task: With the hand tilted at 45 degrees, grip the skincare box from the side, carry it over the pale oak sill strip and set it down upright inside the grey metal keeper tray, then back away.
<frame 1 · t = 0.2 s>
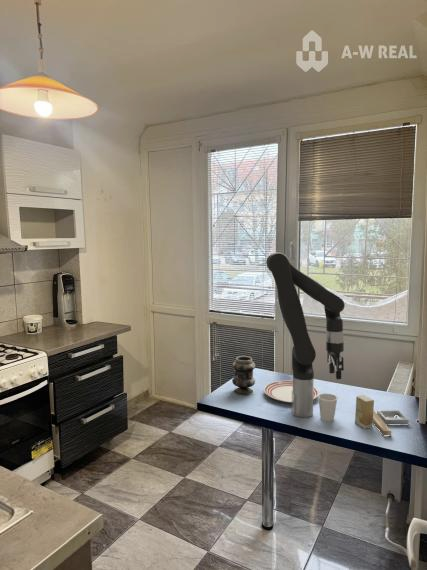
hand: (335, 376, 177), 18 cm above the table, tool pointing down, fingers open, 8 cm apart
dixie cup: (327, 418, 174), on the table
sill: (378, 425, 167), on the table
keeper: (392, 420, 172), on the table
skincare box: (363, 425, 168), on the table
dinner plate: (290, 396, 201), on the table
dark carved vase: (243, 391, 206), on the table
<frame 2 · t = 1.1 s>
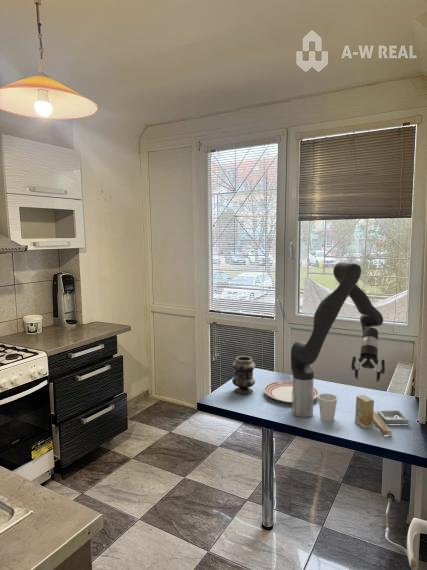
hand: (367, 379, 176), 16 cm above the table, tool tilted 45°, fingers open, 8 cm apart
nothing on the table moved.
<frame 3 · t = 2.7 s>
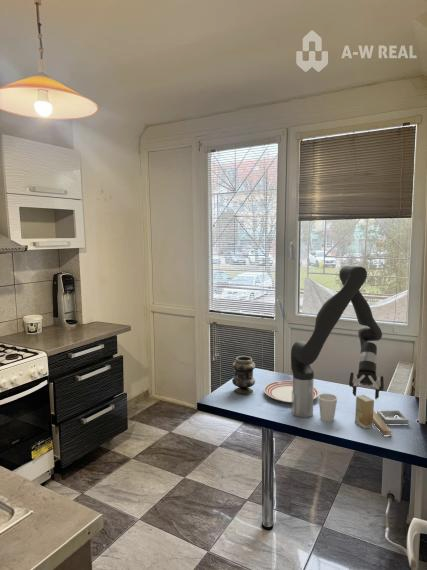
hand: (365, 397, 171), 11 cm above the table, tool tilted 45°, fingers open, 8 cm apart
nothing on the table moved.
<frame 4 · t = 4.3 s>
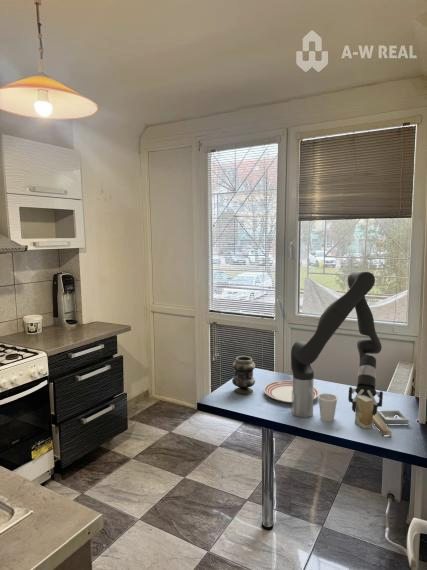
hand: (364, 413, 166), 6 cm above the table, tool tilted 45°, fingers closed on skincare box, 7 cm apart
skincare box: (363, 425, 168), on the table, touching gripper
everything else where it was.
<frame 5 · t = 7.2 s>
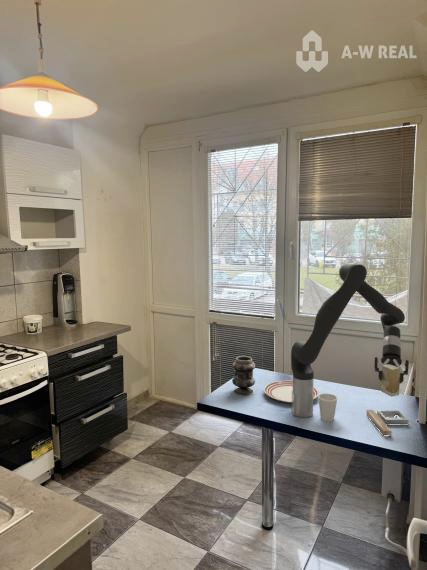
hand: (390, 381, 168), 18 cm above the table, tool tilted 45°, fingers closed on skincare box, 7 cm apart
skincare box: (390, 394, 170), point 12 cm above the table, touching gripper
everything else where it was.
when the fingers open (8 cm above the table, at t = 10.0 s): skincare box stays where it is, resting on keeper.
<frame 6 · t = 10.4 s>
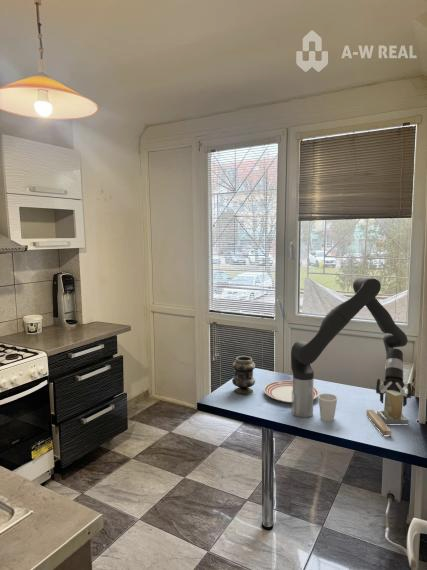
hand: (393, 404, 170), 8 cm above the table, tool tilted 45°, fingers open, 8 cm apart
skincare box: (392, 419, 172), resting on keeper
everything else where it was.
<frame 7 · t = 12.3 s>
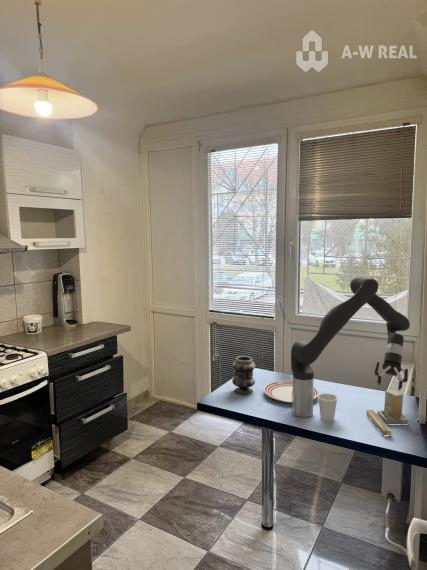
hand: (389, 387, 182), 11 cm above the table, tool tilted 35°, fingers open, 8 cm apart
nothing on the table moved.
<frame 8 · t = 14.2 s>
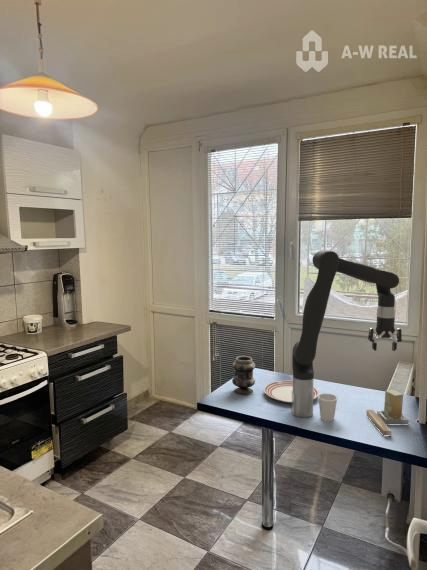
hand: (384, 350, 181), 28 cm above the table, tool pointing down, fingers open, 8 cm apart
nothing on the table moved.
at the end: skincare box inside the target area on the keeper (0.2 cm from its centre), point 0.4 cm above the keeper's base; skincare box tilted 0°; the gripper is holding nothing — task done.
